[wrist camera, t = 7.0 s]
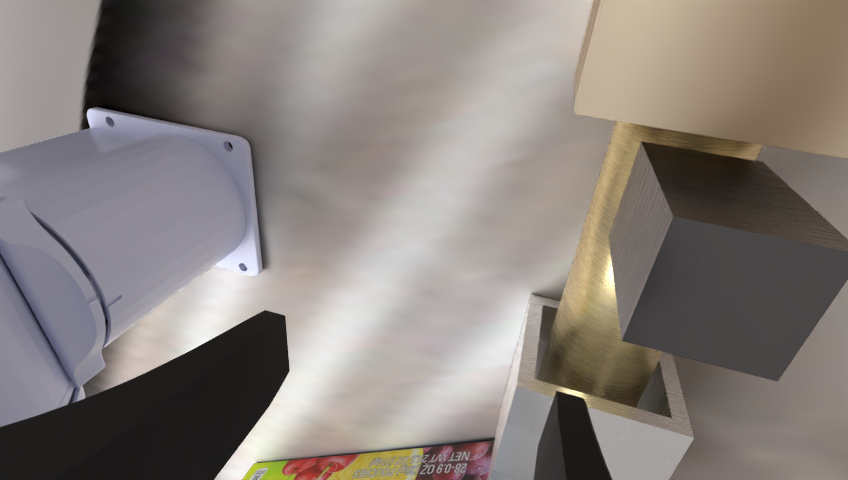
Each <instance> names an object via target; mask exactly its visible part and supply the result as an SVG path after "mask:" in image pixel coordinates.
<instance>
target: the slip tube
mask: <svg viewBox="0 0 848 480" xmlns="http://www.w3.org/2000/svg"><path fill="white" fill-rule="evenodd" d="M762 147H763V145H760V144H754V143H748V142H742V141H736V140H729V139H723V138H717V137H711V136H705V135H699V134H693V133H687V132H681V131H674V130H668V129H662V128H656V127H650V126H644V125H638V124H632V123H626V122H620V121H616V123H615V127H614V130H613V133H612V136H611V139H610V143H609V146H608V149H607V152H606V156H605V159H604V162H603V165H602V169H601V172H600V175H599V178H598V182H597V185H596V188H595V191H594V194H593V198H592V201H591V204H590V207H589V211H588V214H587V217H586V220H585V224H584V227H583V230H582V233H581V236H580V240H579V243H578V246H577V249H576V253H575V256H574V259H573V262H572V266H571V269H570V272H569V275H568V278H567V282H566V285H565V288H564V291H563V295H562V298H561V301H560V304H559V308H558V311H557V314H556V317H555V321H554V324H553V327H552V330H551V333H550V337H549V340H548V343H547V346H546V350H545V353H544V356H543V359H542V363H541V366H540V369H539V372H538V375H537V379H536V380H539V381H543V382H546V383H550V384H553V385H557V386H560V387H564V388H567V389H571V390H574V391H578V392H581V393H585V394H588V395H592V396H595V397H599V398H602V399H606V400H609V401H613V402H616V403H620V404H623V405H627V406H630V407H634V408H636V407H637V405H638V403H639V401H640V399H641V396H642V394H643V392H644V390H645V388H646V386H647V384H648V382H649V380H650V378H651V376H652V374H653V372H654V370H655V368H656V366H657V364H658V361H659V359H660V357H661V355H662V353H663V352H665V353H669V354H673V355H677V356H681V357H685V358H689V359H693V360H696V361H700V362H704V363H708V364H712V365H716V366H720V367H724V368H728V369H731V370H735V371H739V372H743V373H747V374H751V375H755V376H759V377H762V378H766V379H770V380H774V381H778V380H779V379H780V377H781V376H782V374H783V373H784V371H785V370H786V368H787V367H788V365H789V364H790V363H791V361H792V360H793V358H794V357H795V355H796V354H797V352H798V351H799V349H800V348H801V346H802V345H803V344H804V342H805V341H806V339H807V338H808V336H809V335H810V333H811V332H812V330H813V329H814V328H815V326H816V325H817V323H818V322H819V320H820V319H821V317H822V316H823V314H824V313H825V311H826V310H827V309H828V307H829V306H830V304H831V303H832V301H833V300H834V298H835V297H836V295H837V294H838V293H839V291H840V290H841V288H842V287H843V285H844V284H845V282H846V281H847V279H848V239H846V238H845V237H844V236H843V235H842V234H841V233H840V232H839V231H838V230H837V229H835V228H834V227H833V226H832V225H831V224H830V223H829V222H828V221H827V220H826V219H824V218H823V217H822V216H821V215H820V214H819V213H818V212H817V211H816V210H815V209H813V208H812V207H811V206H810V205H809V204H808V203H807V202H806V201H805V200H804V199H803V198H801V197H800V196H799V195H798V194H797V193H796V192H795V191H794V190H793V189H792V188H790V187H789V186H788V185H787V184H786V183H785V182H784V181H783V180H782V179H781V178H779V177H778V176H777V175H776V174H775V173H774V172H773V171H772V170H771V169H770V168H768V167H767V166H766V165H765V164H764V163H763V162H760V161H756V160H757V158H758V155H759V153H760V151H761V149H762Z"/></svg>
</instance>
